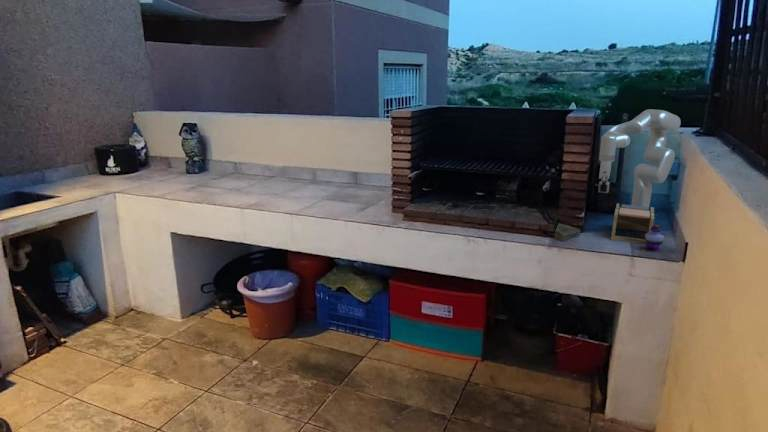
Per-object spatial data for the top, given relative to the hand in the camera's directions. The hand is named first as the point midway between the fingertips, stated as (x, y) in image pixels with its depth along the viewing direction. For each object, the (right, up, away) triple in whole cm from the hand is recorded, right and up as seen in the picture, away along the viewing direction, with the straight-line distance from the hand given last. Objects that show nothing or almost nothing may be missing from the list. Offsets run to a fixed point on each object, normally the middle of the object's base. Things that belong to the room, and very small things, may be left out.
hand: (603, 190), depth 275 cm
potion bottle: (+10, -30, -31) cm, 45 cm away
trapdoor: (+9, -15, -14) cm, 23 cm away
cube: (0, -1, 0) cm, 1 cm away
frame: (+9, -24, -11) cm, 29 cm away
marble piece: (-27, -25, -11) cm, 38 cm away
